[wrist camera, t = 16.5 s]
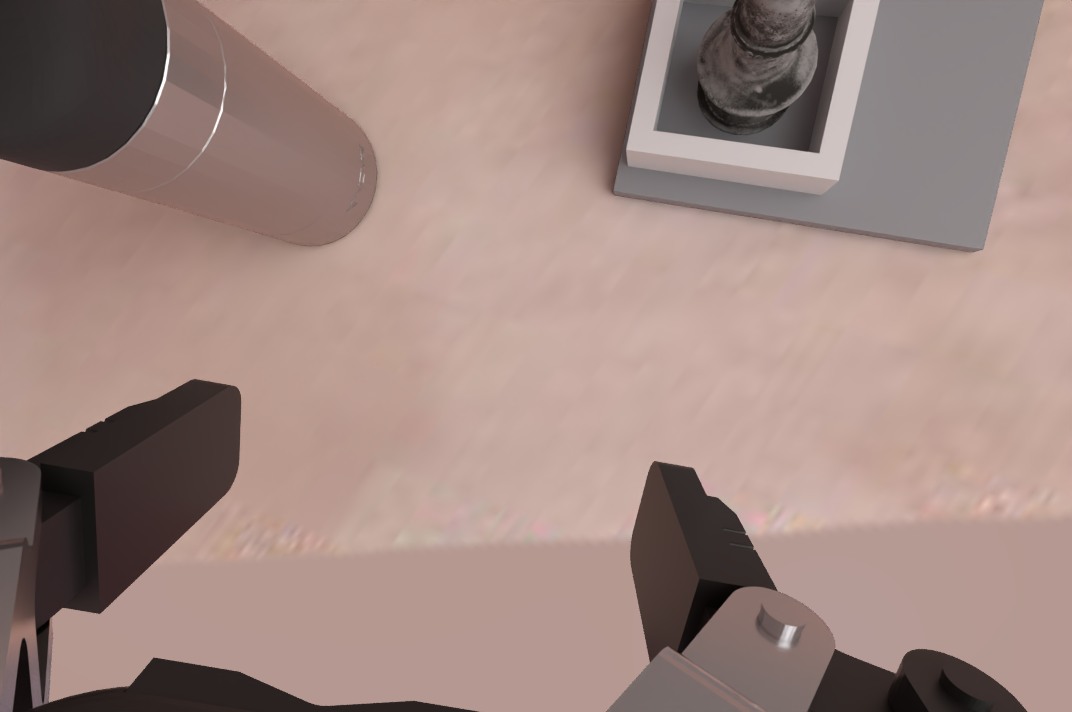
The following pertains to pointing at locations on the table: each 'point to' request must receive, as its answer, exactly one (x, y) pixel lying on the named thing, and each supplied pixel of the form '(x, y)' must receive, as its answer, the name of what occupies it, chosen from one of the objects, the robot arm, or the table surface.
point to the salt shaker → (756, 63)
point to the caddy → (844, 121)
